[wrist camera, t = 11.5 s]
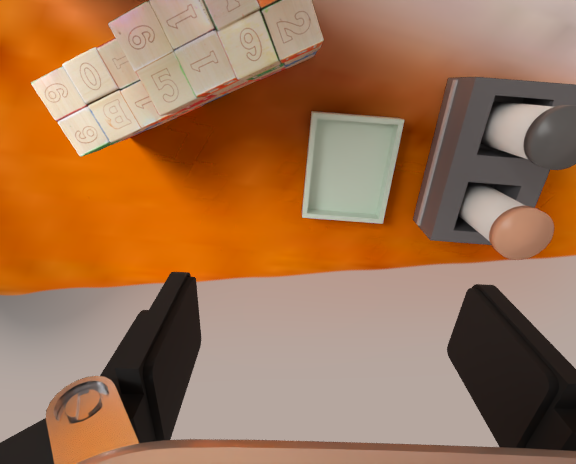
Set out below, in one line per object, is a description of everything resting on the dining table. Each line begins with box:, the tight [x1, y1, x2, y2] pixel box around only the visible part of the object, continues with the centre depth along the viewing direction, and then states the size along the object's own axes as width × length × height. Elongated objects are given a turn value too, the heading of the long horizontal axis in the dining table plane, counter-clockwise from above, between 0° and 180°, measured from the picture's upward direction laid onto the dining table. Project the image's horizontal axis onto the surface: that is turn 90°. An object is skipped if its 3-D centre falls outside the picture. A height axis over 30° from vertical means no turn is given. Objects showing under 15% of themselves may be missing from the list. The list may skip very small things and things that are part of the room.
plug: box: [458, 182, 554, 260], centre depth 31 cm, size 4×4×10 cm
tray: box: [302, 111, 404, 224], centre depth 35 cm, size 11×9×2 cm
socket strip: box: [413, 77, 576, 245], centre depth 32 cm, size 15×9×6 cm, turn 176°
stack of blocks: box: [31, 0, 324, 156], centre depth 27 cm, size 21×6×12 cm, turn 112°
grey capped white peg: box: [480, 101, 576, 170], centre depth 28 cm, size 4×4×10 cm
